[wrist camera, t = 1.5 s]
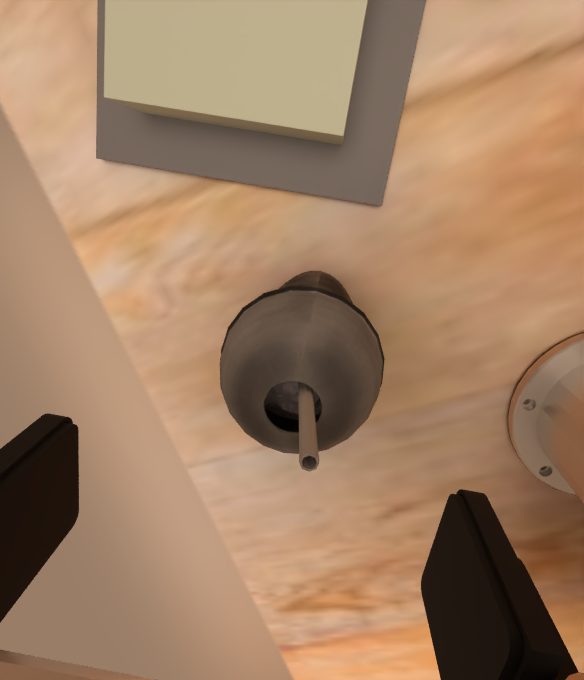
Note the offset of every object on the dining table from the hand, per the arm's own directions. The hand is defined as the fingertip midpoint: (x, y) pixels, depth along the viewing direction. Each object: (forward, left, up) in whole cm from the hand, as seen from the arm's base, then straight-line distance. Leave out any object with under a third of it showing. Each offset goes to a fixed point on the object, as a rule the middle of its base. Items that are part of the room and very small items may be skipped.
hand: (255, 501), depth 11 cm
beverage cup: (0, 0, -21) cm, 21 cm away
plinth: (+6, -16, -21) cm, 27 cm away
